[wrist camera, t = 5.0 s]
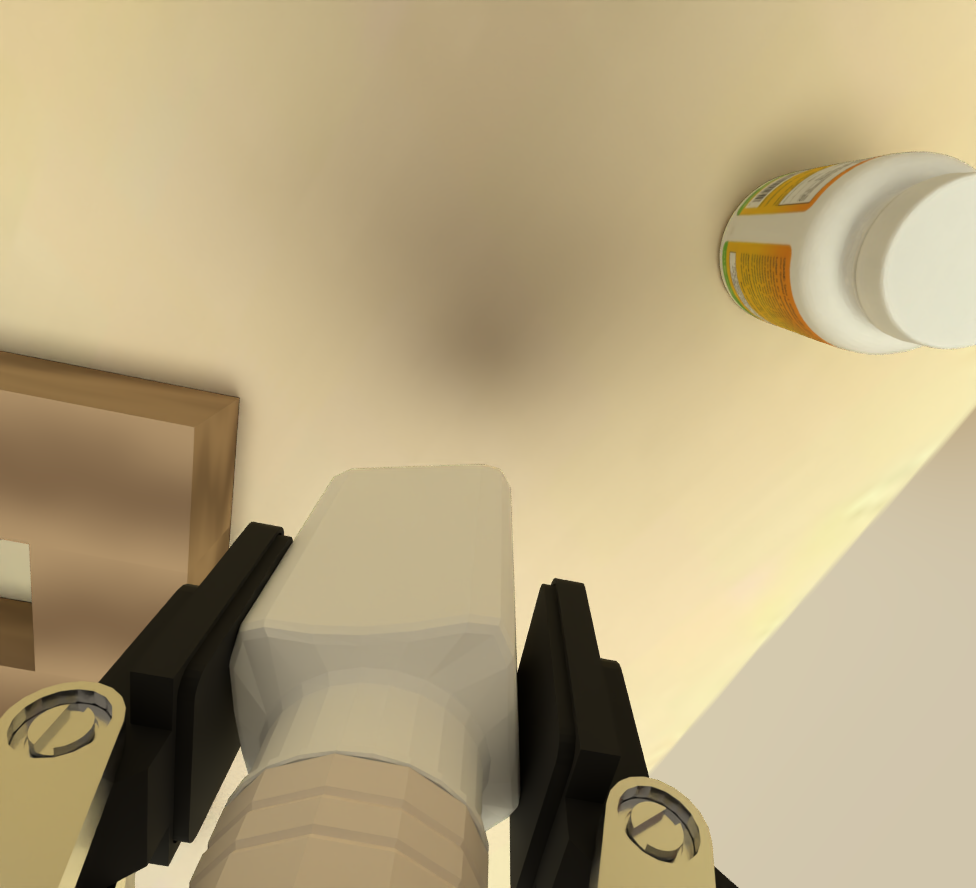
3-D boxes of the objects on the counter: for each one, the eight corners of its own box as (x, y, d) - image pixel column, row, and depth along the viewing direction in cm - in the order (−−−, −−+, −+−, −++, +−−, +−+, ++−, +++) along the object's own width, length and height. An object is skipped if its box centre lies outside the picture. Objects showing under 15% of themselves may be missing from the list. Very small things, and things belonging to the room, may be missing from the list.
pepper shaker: (509, 452, 14) (521, 886, 5) (515, 604, 15) (531, 1153, 6) (332, 459, 14) (37, 890, 5) (353, 608, 15) (150, 1150, 7)
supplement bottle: (819, 339, 25) (1009, 407, 15) (692, 297, 24) (809, 340, 15) (889, 199, 23) (1148, 182, 14) (754, 150, 22) (928, 99, 13)
